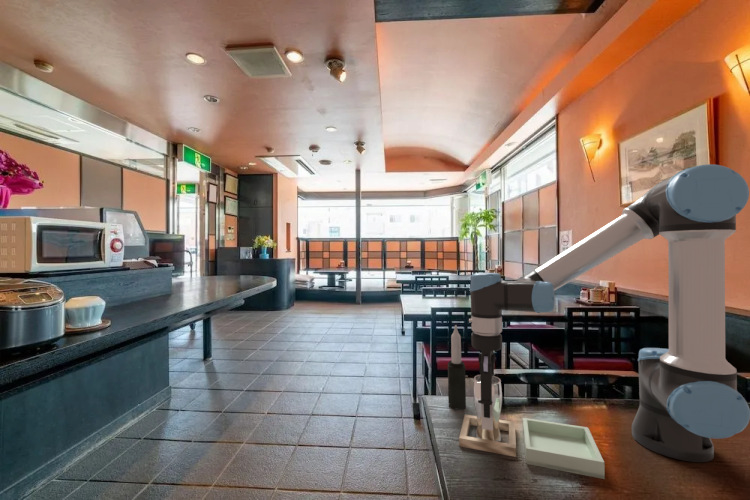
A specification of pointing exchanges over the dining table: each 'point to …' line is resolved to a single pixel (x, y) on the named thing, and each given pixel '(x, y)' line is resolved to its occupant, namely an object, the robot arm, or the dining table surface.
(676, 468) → the dining table surface
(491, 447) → the light wood square frame
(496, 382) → the beer glass
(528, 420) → the tray
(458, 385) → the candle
